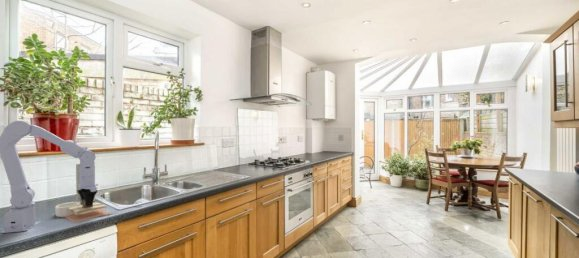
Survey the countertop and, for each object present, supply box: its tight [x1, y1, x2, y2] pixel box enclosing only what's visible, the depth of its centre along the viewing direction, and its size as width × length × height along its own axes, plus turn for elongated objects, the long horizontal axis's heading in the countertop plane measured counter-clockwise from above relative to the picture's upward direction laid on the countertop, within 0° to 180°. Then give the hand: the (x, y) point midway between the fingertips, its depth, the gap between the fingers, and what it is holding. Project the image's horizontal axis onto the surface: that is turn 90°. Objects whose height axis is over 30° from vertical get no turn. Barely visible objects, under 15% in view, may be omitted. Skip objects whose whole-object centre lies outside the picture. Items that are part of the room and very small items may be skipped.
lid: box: [68, 199, 107, 214], centre depth 120 cm, size 11×11×4 cm
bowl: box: [54, 201, 82, 218], centre depth 122 cm, size 9×9×4 cm
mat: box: [63, 208, 111, 223], centre depth 120 cm, size 14×14×1 cm
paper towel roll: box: [75, 163, 96, 203], centre depth 142 cm, size 7×6×21 cm
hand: (87, 204), depth 120 cm, fingers closed on lid, 3 cm apart
